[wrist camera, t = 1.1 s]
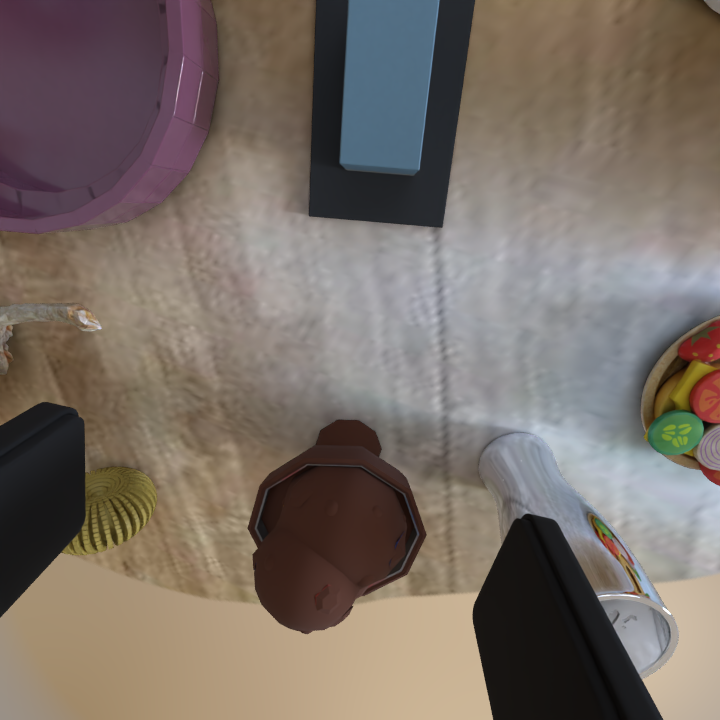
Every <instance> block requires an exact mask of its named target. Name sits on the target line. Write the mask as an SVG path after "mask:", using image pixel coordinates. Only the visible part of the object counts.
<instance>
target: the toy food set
mask: <svg viewBox="0 0 720 720" xmlns="http://www.w3.org/2000/svg"><path fill="white" fill-rule="evenodd" d="M641 420H642V424H643V428H644V430H645V435H644V439H645V440H646V441H648V442H649V443H650V445H651V446H652V447H653V448H654V449H655V450H656V451H657V452H659V453H661V454H662V455H664V456H665V457H666V458H668V459H669V460H671V461H673V462H675V463H677V464H679V465H682V466H684V467H687V468H691V469H697V470H701V471H702V472H703V474H704V475H705V476H706V477H707V478H708V479H709V480H710V481H711V482H713V483H715V484H717V485H719V486H720V315H719V316H717V317H714V318H712V319H710V320H708V321H706V322H704V323H702V324H700V325H698V326H696V327H695V328H693V329H691V330H690V331H689V332H687V333H686V334H684V335H683V336H682V337H680V338H679V339H678V340H677V341H675V342H674V343H673V344H672V345H671V346H670V347H669V348H668V349H667V350H666V351H665V352H664V353H663V355H662V356H661V357H660V358H659V360H658V361H657V363H656V364H655V366H654V367H653V369H652V371H651V372H650V374H649V376H648V379H647V381H646V383H645V386H644V389H643V393H642V398H641Z"/></svg>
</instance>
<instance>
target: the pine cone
mask: <svg viewBox="0 0 720 720" xmlns="http://www.w3.org/2000/svg"><path fill="white" fill-rule="evenodd" d="M26 321H42V322H48V321H60V322H64V323H68V324H72V325H75V326H76V327H78V328H79V329H80V330H81V331H95V330H99V329H102V328H101V325H100V324H99V322H98V320H97V319H96V317H95V315H94V314H93V312H92V311H90V310H88V309H87V308H85V307H83V306H81V305H79V304H76V303H67V304H62V303H57V304H27V303H25V304H22V305H20V304H12V305H11V306H9V307H0V375H2V374H7V370H8V366H9V365H8V364H9V363H10V362H12V361H14V360H13V357H12V354H11V353H9V352H8V348H9V346H8V345H7V344H6V342H7V341H8V340H9V337H11V336H13V334H12V329H13V327H12V326H11V325H13V324H18V323H22V322H26Z"/></svg>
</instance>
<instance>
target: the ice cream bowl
mask: <svg viewBox="0 0 720 720" xmlns="http://www.w3.org/2000/svg"><path fill="white" fill-rule="evenodd" d="M381 450H382V449H381V446H380V443H379V440H378V437H377V435H376V432H375V431H374V430H372V429H371V428H369V427H368V426H366V425H365V424H363V423H362V422H360V421H359V420H336V421H335V422H333V423H332V424H330V425H328V426H327V427H325V428H324V429H322V430H321V431H320V434H319V437H318V440H317V443H316V445H315V446H313V447H312V448H310V449H308V450H307V451H305V452H303V453H302V454H300V455H299V456H297V457H295V458H294V459H292V460H291V461H289V462H287V463H286V464H284V465H283V466H281V467H279V468H278V469H276V470H275V471H273V472H271V473H270V474H269V475H268V476H267V478H266V479H265V480H264V481H263V482H262V484H261V485H260V487H259V490H258V494H257V497H256V501H255V504H254V508H253V511H252V515H251V518H250V522H249V525H248V530H249V532H250V534H251V536H252V538H253V540H254V542H255V543H256V545H257V547H258V549H257V550H256V551H255V552H254V554H253V569H254V570H255V571H254V577H255V590H256V592H257V595H258V597H259V600H260V602H261V604H262V605H263V607H264V608H265V609H266V610H267V611H268V612H269V613H270V614H271V615H272V616H273V617H274V618H275V619H276V620H277V621H278V622H279V623H280V624H282V625H284V626H286V627H288V628H290V629H293V630H296V631H301V632H302V633H304V634H309V633H311V632H312V631H315V630H325V629H327V628H329V627H332V626H336V625H337V624H339V623H340V622H342V621H343V620H344V619H345V618H346V617H347V616H348V615H349V614H350V611H351V609H352V608H353V606H352V605H353V603H354V601H355V599H356V598H359V597H361V596H365V595H367V594H369V593H371V592H373V591H375V590H377V589H379V588H381V587H383V586H385V585H387V584H389V583H391V582H393V581H395V580H397V579H399V578H401V577H403V576H405V575H407V574H408V572H409V570H410V568H411V566H412V564H413V562H414V560H415V558H416V556H417V554H418V551H419V549H420V547H421V545H422V543H423V541H424V539H425V537H426V532H425V529H424V526H423V523H422V520H421V517H420V514H419V511H418V508H417V506H416V503H415V500H414V497H413V494H412V491H411V488H410V486H409V483H408V481H407V479H406V477H405V476H404V475H403V474H402V473H401V472H400V471H399V470H397V469H396V468H394V467H393V466H391V465H390V464H388V463H387V462H385V461H384V460H382V459H381V458H379V455H380V452H381Z"/></svg>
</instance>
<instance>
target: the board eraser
mask: <svg viewBox="0 0 720 720" xmlns="http://www.w3.org/2000/svg"><path fill="white" fill-rule="evenodd" d="M439 1H440V0H348V16H347V34H346V52H345V70H344V87H343V105H342V123H341V141H340V159H339V163H340V164H341V165H342V166H343V167H344V168H345V169H346V170H350V171H362V172H374V173H386V174H398V175H410V176H414V175H415V173H416V172H417V171H418V170H419V169H420V160H421V152H422V144H423V135H424V127H425V118H426V110H427V102H428V93H429V85H430V76H431V68H432V60H433V51H434V43H435V34H436V26H437V17H438V9H439Z"/></svg>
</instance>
